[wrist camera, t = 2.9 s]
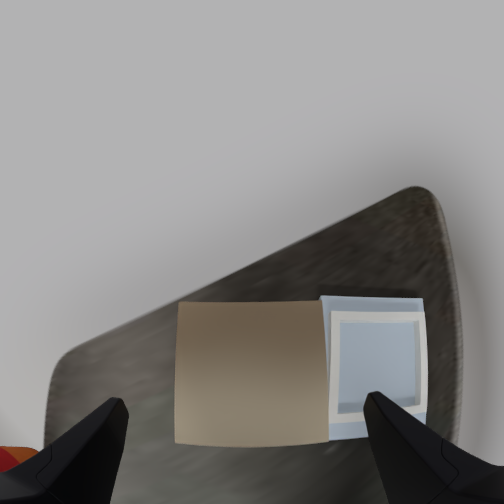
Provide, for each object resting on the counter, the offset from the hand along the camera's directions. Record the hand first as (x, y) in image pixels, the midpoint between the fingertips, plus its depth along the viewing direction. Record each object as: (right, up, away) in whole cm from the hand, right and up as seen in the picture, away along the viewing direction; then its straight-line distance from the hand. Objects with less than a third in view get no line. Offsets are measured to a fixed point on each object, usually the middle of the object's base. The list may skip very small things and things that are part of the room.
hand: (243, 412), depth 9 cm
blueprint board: (+9, -3, +9) cm, 13 cm away
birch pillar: (0, -3, +9) cm, 9 cm away
